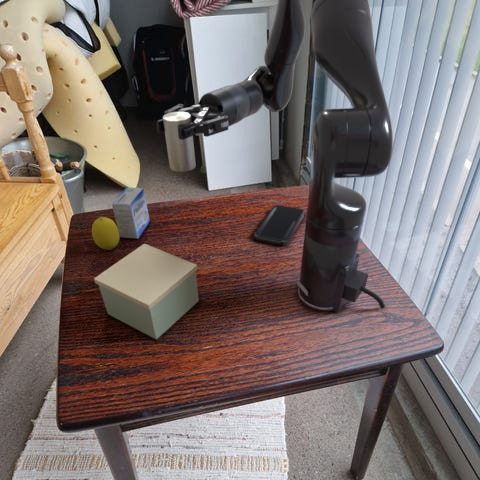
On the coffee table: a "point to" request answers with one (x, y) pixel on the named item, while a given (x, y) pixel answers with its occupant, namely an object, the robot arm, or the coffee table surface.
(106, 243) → the lemon
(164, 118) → the tea tin
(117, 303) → the storage box
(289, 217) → the phone
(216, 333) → the coffee table surface
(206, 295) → the coffee table surface
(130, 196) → the medicine box
